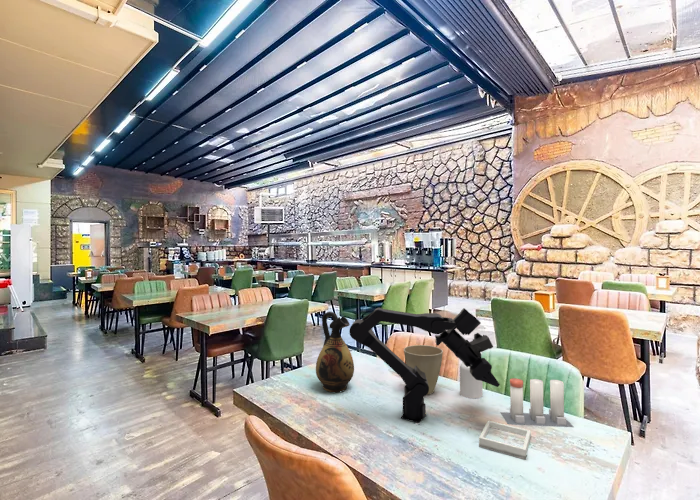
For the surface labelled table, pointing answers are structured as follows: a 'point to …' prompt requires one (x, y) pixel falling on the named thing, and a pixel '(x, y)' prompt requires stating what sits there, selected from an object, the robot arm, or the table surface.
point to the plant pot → (425, 362)
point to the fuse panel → (536, 407)
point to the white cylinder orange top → (516, 397)
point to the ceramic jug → (334, 356)
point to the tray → (505, 447)
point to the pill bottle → (469, 384)
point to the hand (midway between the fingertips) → (494, 380)
